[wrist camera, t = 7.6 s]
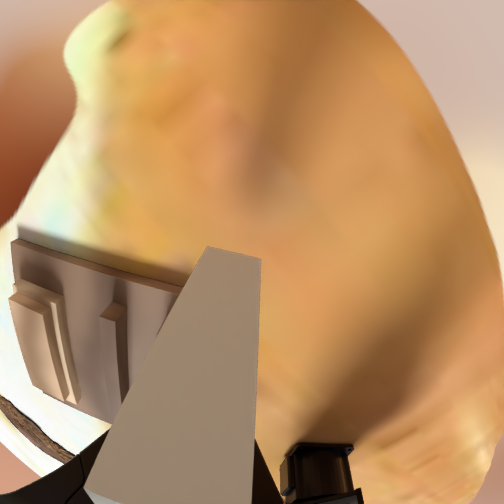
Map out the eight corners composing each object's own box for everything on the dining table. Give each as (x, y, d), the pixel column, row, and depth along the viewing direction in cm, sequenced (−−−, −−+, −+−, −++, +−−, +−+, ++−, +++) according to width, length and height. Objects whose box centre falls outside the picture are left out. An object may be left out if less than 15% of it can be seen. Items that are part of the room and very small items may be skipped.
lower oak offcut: (64, 296, 18) (55, 303, 17) (81, 397, 22) (76, 404, 21) (21, 278, 18) (12, 284, 17) (43, 378, 22) (38, 385, 21)
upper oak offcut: (51, 307, 17) (42, 315, 16) (69, 393, 21) (64, 401, 20) (17, 291, 17) (8, 298, 16) (38, 377, 21) (32, 385, 19)
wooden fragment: (106, 473, 32) (104, 478, 31) (83, 477, 34) (82, 481, 33) (-18, 366, 26) (-22, 370, 25) (-22, 386, 29) (-25, 389, 28)
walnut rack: (225, 297, 19) (219, 323, 16) (195, 441, 25) (190, 464, 22) (18, 238, 18) (-6, 250, 15) (47, 387, 24) (35, 403, 21)
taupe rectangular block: (261, 258, 11) (250, 531, 2) (225, 390, 13) (199, 567, 4) (207, 246, 11) (83, 487, 2) (185, 381, 13) (135, 552, 4)
